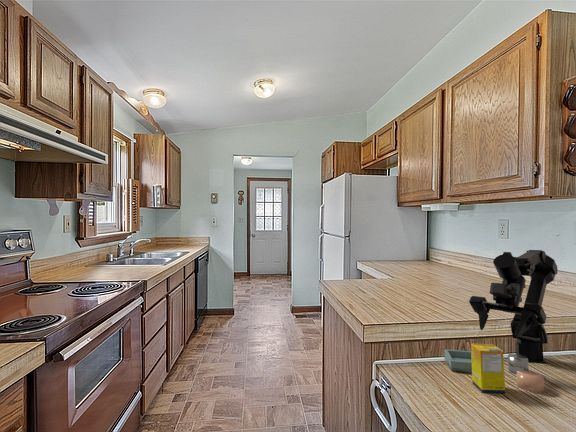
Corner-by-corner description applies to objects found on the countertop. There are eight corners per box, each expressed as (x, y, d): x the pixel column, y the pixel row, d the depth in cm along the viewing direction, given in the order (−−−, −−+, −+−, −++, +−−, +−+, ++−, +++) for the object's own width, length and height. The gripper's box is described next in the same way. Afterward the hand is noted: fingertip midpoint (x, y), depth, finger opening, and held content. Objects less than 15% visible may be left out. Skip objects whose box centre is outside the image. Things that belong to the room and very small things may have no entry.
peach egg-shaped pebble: (538, 384, 92) (537, 371, 92) (548, 394, 86) (548, 380, 87) (513, 382, 94) (512, 369, 94) (522, 392, 88) (521, 378, 88)
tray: (480, 361, 109) (479, 352, 109) (490, 374, 99) (490, 364, 99) (444, 358, 112) (444, 349, 112) (451, 371, 101) (450, 360, 102)
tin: (524, 369, 102) (523, 354, 102) (531, 376, 97) (531, 360, 98) (506, 368, 104) (505, 353, 104) (512, 374, 99) (511, 359, 99)
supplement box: (494, 383, 93) (492, 343, 93) (505, 393, 87) (504, 350, 88) (471, 382, 93) (470, 342, 94) (481, 392, 88) (480, 350, 88)
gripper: (470, 270, 107) (454, 309, 100) (540, 275, 93) (528, 322, 85) (482, 292, 112) (468, 331, 104) (551, 300, 97) (540, 347, 90)
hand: (498, 332), depth 96 cm, fingers open, 9 cm apart
